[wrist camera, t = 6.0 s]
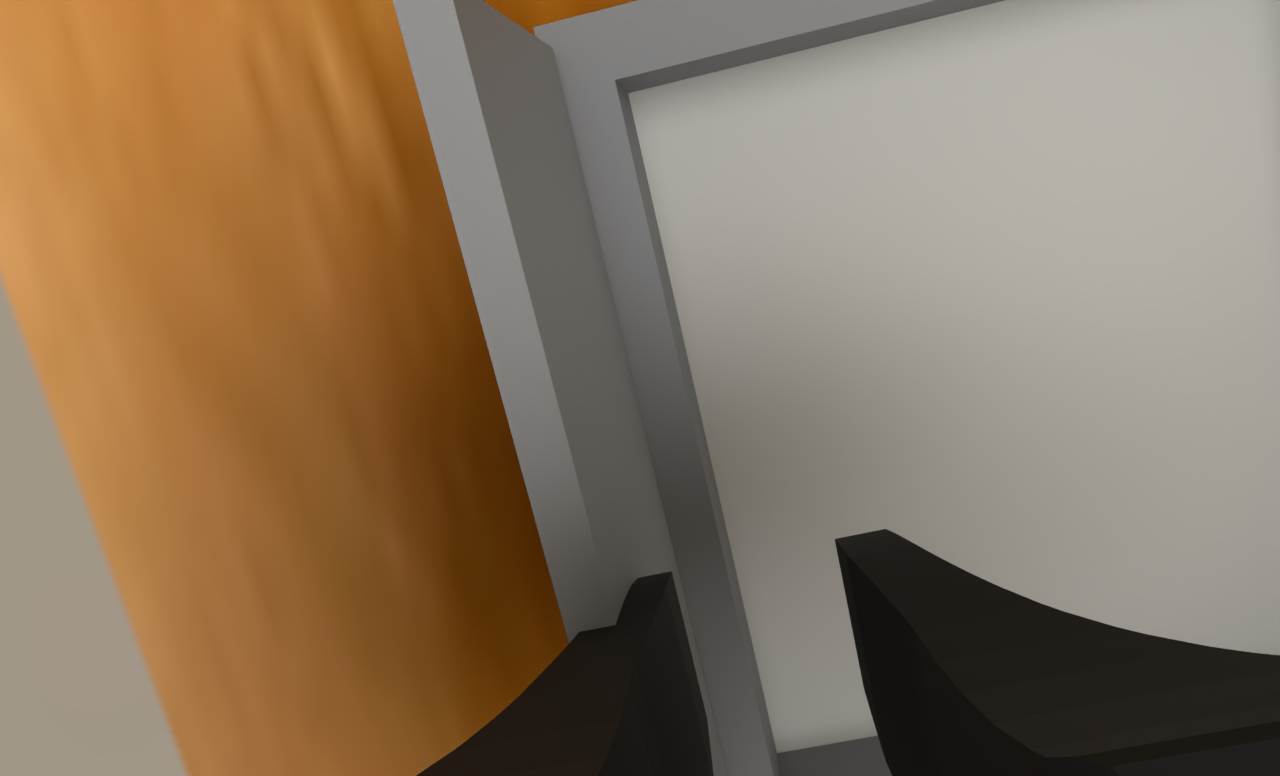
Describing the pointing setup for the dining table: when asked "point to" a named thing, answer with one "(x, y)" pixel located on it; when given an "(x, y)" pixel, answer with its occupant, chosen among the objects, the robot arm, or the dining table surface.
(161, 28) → the dining table surface
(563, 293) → the carton flap
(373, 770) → the dining table surface
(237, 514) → the dining table surface
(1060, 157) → the gray open box
